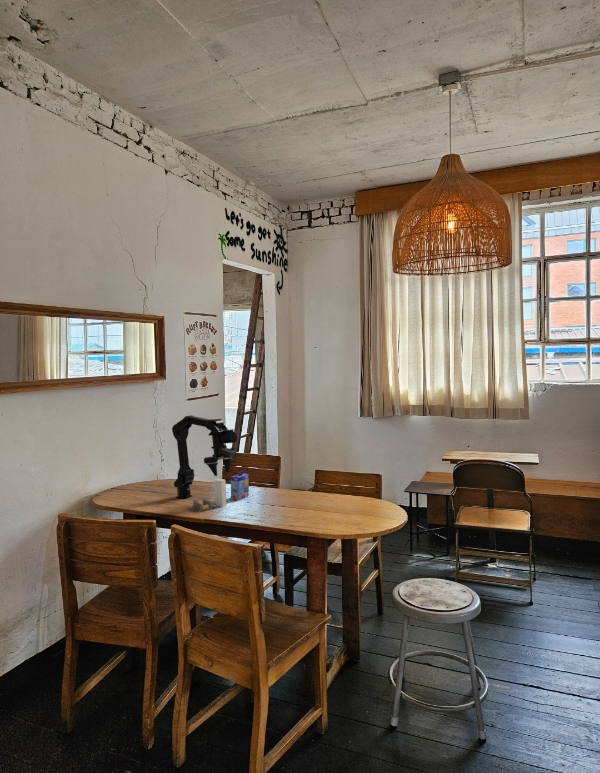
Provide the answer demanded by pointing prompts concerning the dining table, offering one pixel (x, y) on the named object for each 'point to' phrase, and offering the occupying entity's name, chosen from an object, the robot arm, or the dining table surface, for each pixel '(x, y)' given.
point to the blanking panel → (220, 492)
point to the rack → (202, 505)
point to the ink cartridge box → (239, 486)
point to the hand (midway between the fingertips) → (222, 474)
